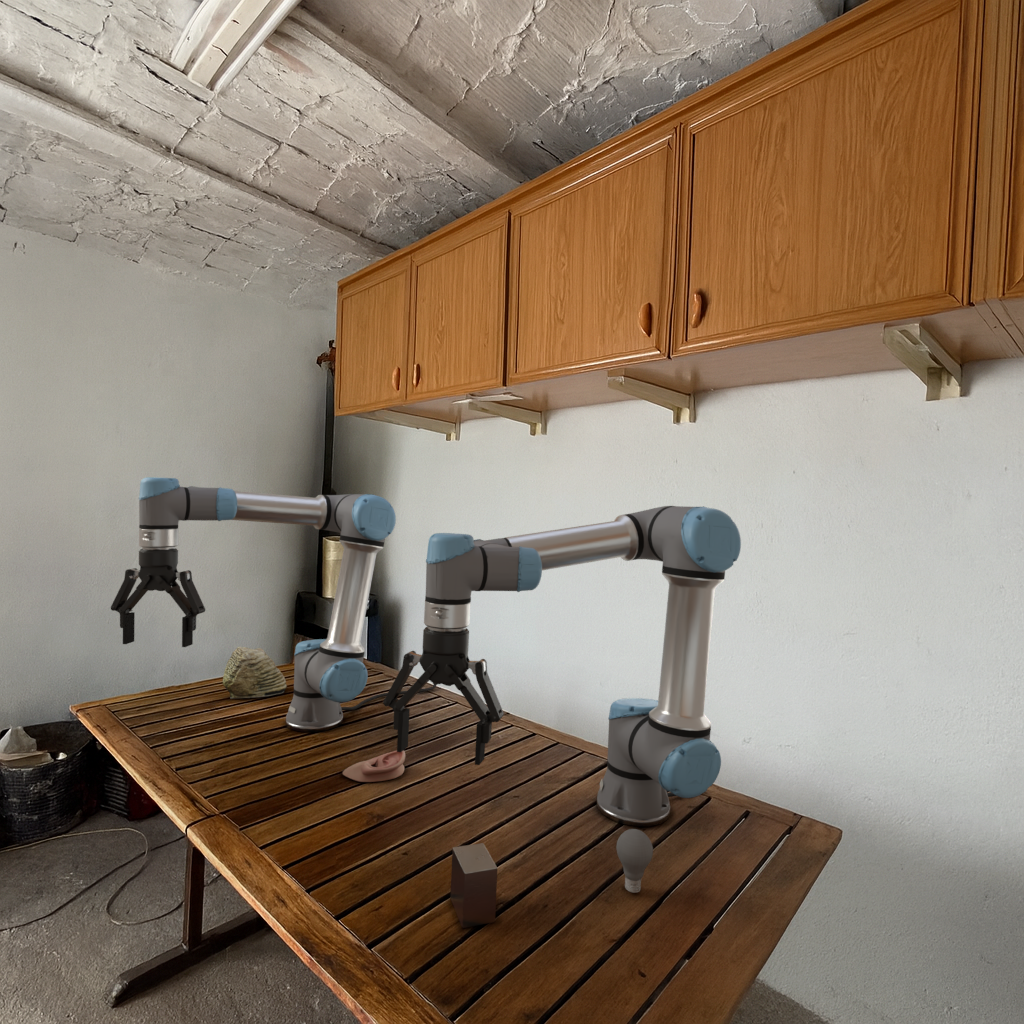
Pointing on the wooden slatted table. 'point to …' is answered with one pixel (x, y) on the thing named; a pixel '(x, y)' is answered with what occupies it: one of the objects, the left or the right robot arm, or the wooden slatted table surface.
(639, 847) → the light bulb
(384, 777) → the anatomical model
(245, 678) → the fossil
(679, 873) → the wooden slatted table surface
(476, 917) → the block
